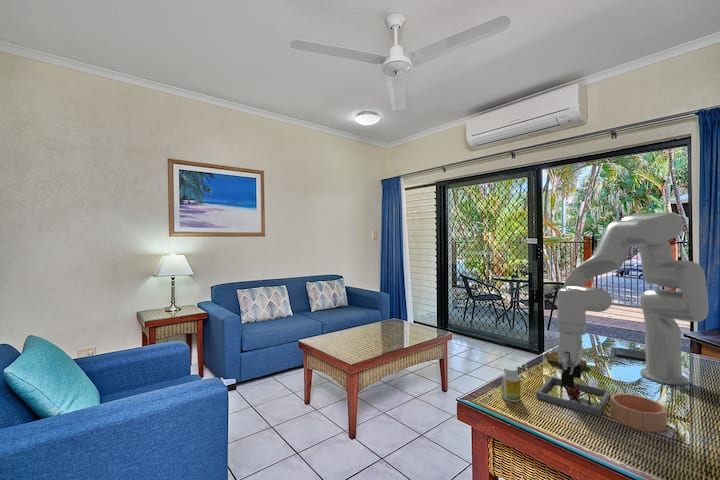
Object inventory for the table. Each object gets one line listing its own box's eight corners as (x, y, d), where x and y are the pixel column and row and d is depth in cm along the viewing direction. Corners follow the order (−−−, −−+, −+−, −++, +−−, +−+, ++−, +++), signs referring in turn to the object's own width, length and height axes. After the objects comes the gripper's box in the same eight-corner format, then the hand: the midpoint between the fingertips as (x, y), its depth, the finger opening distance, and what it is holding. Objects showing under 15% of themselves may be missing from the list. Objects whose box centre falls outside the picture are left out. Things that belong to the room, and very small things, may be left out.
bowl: (614, 405, 99) (613, 389, 99) (666, 419, 91) (666, 402, 91) (607, 421, 91) (607, 403, 91) (665, 438, 82) (665, 418, 82)
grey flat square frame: (551, 381, 116) (551, 376, 116) (609, 396, 105) (609, 390, 105) (536, 397, 105) (536, 392, 105) (600, 416, 93) (600, 410, 93)
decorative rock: (537, 364, 135) (579, 376, 123) (537, 354, 135) (579, 366, 123) (550, 356, 142) (590, 367, 130) (550, 347, 142) (590, 357, 130)
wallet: (609, 353, 141) (611, 344, 152) (609, 357, 141) (611, 348, 152) (673, 364, 128) (671, 353, 139) (674, 369, 128) (671, 358, 139)
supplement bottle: (498, 396, 106) (497, 366, 106) (509, 393, 108) (509, 363, 108) (512, 403, 101) (511, 372, 101) (524, 400, 103) (523, 369, 103)
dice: (582, 396, 105) (581, 384, 105) (577, 401, 102) (577, 388, 102) (568, 393, 108) (568, 380, 108) (564, 397, 105) (563, 384, 105)
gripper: (564, 321, 114) (564, 371, 113) (550, 330, 101) (550, 386, 101) (590, 324, 108) (591, 377, 108) (579, 334, 96) (579, 394, 96)
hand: (571, 381), depth 105 cm, fingers open, 9 cm apart
